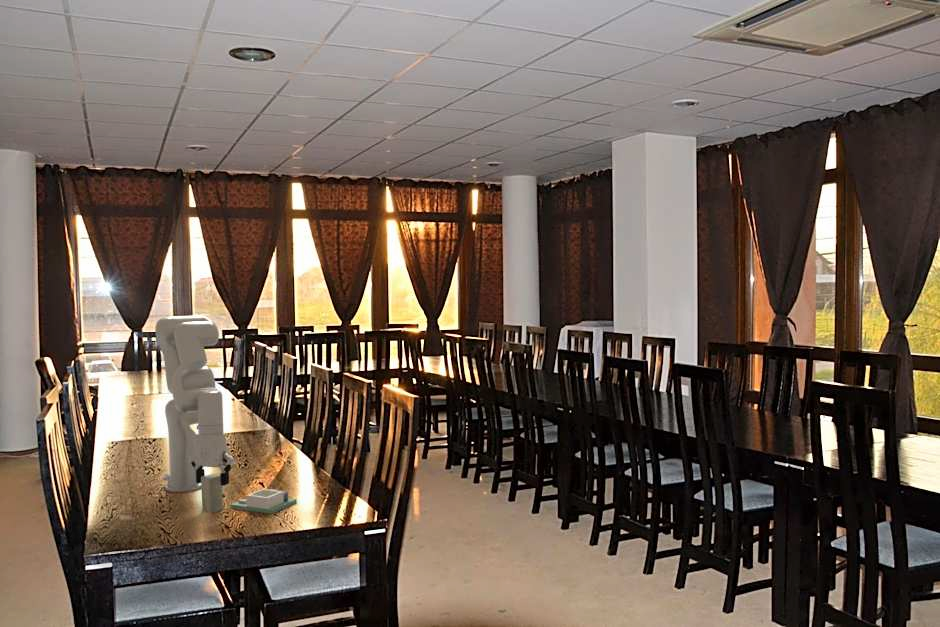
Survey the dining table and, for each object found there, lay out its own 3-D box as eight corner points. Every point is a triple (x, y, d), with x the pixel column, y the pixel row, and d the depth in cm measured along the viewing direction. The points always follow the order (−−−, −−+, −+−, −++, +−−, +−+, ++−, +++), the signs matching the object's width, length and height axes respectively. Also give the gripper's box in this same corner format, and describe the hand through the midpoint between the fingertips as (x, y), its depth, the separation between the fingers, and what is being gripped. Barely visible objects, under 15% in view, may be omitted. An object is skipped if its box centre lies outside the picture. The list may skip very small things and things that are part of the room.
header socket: (246, 506, 258) (246, 495, 257) (264, 498, 266) (263, 488, 265) (267, 509, 254) (267, 498, 254) (284, 501, 262) (284, 490, 262)
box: (215, 507, 261) (215, 473, 260) (223, 509, 258) (222, 475, 257) (201, 510, 257) (200, 476, 256) (208, 513, 254) (208, 478, 253)
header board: (230, 508, 260) (230, 496, 259) (256, 497, 271) (256, 486, 271) (272, 513, 253) (271, 502, 253) (296, 502, 265) (296, 491, 265)
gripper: (180, 430, 256) (182, 484, 256) (224, 433, 249) (226, 488, 249) (197, 426, 263) (199, 479, 263) (240, 429, 256) (242, 483, 256)
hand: (212, 483), depth 256 cm, fingers open, 9 cm apart
